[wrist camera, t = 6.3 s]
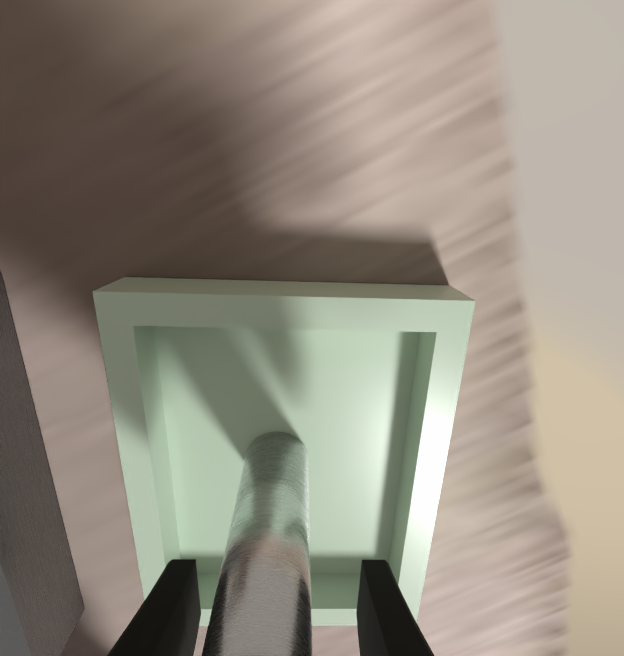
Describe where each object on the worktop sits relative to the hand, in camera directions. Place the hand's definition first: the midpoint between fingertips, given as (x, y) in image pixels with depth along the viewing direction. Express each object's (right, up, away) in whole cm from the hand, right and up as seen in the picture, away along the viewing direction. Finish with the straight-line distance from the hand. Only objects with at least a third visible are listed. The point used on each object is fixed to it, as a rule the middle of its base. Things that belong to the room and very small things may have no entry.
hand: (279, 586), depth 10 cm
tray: (0, +2, +5) cm, 5 cm away
